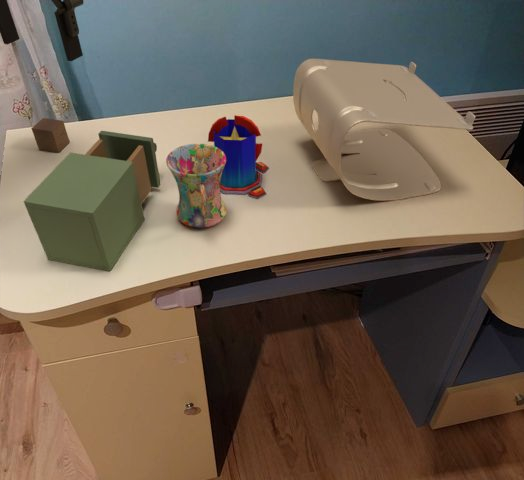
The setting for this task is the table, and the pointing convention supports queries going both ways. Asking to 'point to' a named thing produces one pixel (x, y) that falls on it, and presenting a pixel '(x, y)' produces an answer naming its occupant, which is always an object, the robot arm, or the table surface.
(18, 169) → the table surface
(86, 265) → the cabinet
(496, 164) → the table surface
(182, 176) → the mug
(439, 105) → the laptop stand
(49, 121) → the block
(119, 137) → the drawer
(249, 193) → the fantasy tower
